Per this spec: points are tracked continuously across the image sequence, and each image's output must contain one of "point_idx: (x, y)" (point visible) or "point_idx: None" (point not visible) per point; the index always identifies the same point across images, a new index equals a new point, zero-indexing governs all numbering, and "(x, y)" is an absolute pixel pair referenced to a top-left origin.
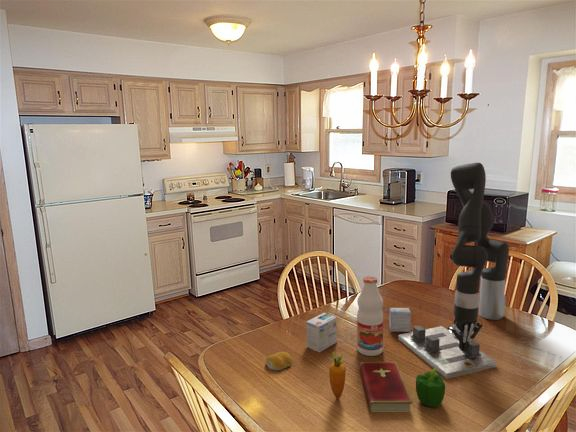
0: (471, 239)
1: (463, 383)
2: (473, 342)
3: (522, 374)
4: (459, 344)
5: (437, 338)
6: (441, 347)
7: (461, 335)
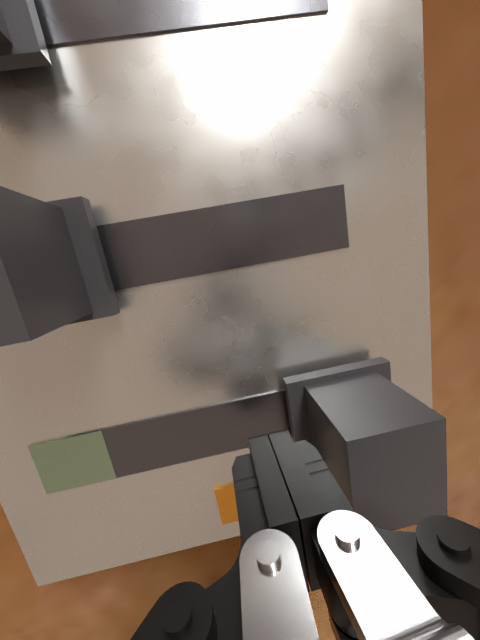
0: None
1: (142, 579)
2: (419, 469)
3: (476, 526)
4: (237, 504)
5: (3, 314)
6: (154, 249)
7: (301, 628)
